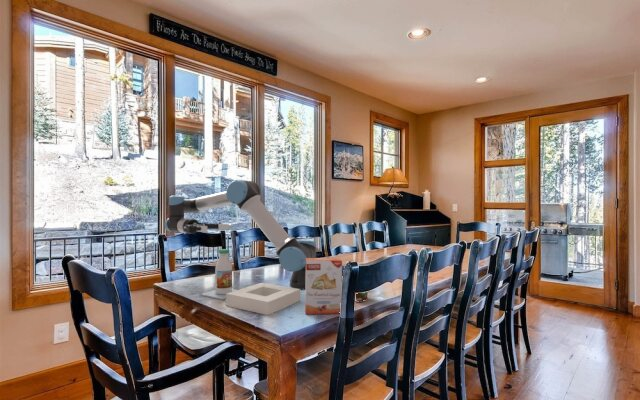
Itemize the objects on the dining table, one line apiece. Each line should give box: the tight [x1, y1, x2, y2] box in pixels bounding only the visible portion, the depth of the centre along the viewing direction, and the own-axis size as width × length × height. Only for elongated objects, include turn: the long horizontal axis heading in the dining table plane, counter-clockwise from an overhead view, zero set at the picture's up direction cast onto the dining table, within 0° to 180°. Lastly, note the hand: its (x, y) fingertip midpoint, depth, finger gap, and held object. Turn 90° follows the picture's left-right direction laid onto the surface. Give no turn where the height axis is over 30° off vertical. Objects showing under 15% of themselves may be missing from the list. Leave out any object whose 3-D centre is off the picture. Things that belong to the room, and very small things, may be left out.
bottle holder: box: [225, 282, 301, 316], centre depth 145 cm, size 22×22×5 cm
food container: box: [356, 291, 369, 301], centre depth 152 cm, size 12×6×10 cm, turn 168°
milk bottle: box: [214, 248, 233, 294], centre depth 159 cm, size 8×8×20 cm
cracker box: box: [304, 257, 343, 315], centre depth 134 cm, size 14×6×21 cm, turn 95°
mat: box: [200, 288, 237, 301], centre depth 159 cm, size 14×14×1 cm
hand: (217, 228), depth 166 cm, fingers open, 13 cm apart
